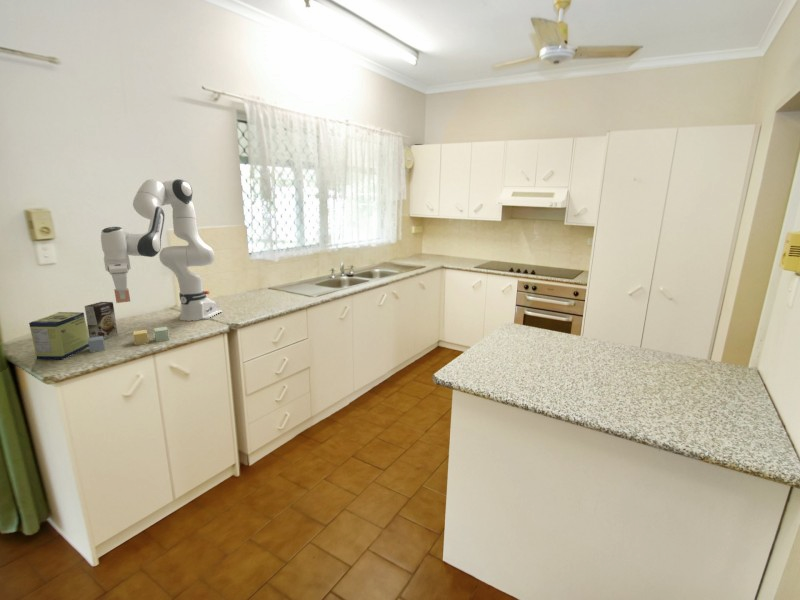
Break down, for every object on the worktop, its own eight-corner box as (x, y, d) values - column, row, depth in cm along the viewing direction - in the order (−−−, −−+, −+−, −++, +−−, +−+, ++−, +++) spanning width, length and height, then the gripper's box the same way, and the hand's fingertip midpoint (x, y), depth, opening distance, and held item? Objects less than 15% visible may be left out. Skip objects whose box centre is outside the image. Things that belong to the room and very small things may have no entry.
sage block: (167, 336, 189) (166, 326, 187) (169, 339, 185) (167, 329, 184) (155, 338, 186) (153, 328, 185) (156, 341, 182) (155, 331, 181)
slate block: (104, 346, 175) (102, 335, 174) (104, 350, 171) (102, 339, 170) (90, 349, 172) (88, 338, 171) (90, 352, 168) (87, 341, 167)
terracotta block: (129, 299, 179) (128, 288, 177) (130, 301, 175) (128, 290, 173) (116, 300, 176) (114, 289, 174) (116, 303, 172) (114, 291, 171)
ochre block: (147, 340, 184) (146, 329, 183) (148, 343, 180) (147, 332, 179) (134, 342, 181) (133, 331, 180) (135, 345, 177) (133, 334, 176)
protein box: (90, 346, 175) (84, 311, 172) (62, 360, 160) (55, 322, 156) (66, 345, 175) (59, 311, 171) (35, 359, 160) (27, 322, 156)
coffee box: (101, 341, 181) (95, 306, 177) (89, 340, 182) (83, 305, 178) (118, 334, 190) (113, 301, 186) (107, 333, 191) (101, 300, 187)
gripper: (108, 262, 178) (113, 293, 181) (109, 270, 162) (114, 303, 165) (125, 261, 181) (130, 291, 185) (127, 268, 165) (132, 301, 169)
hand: (122, 297), depth 175 cm, fingers closed on terracotta block, 5 cm apart
